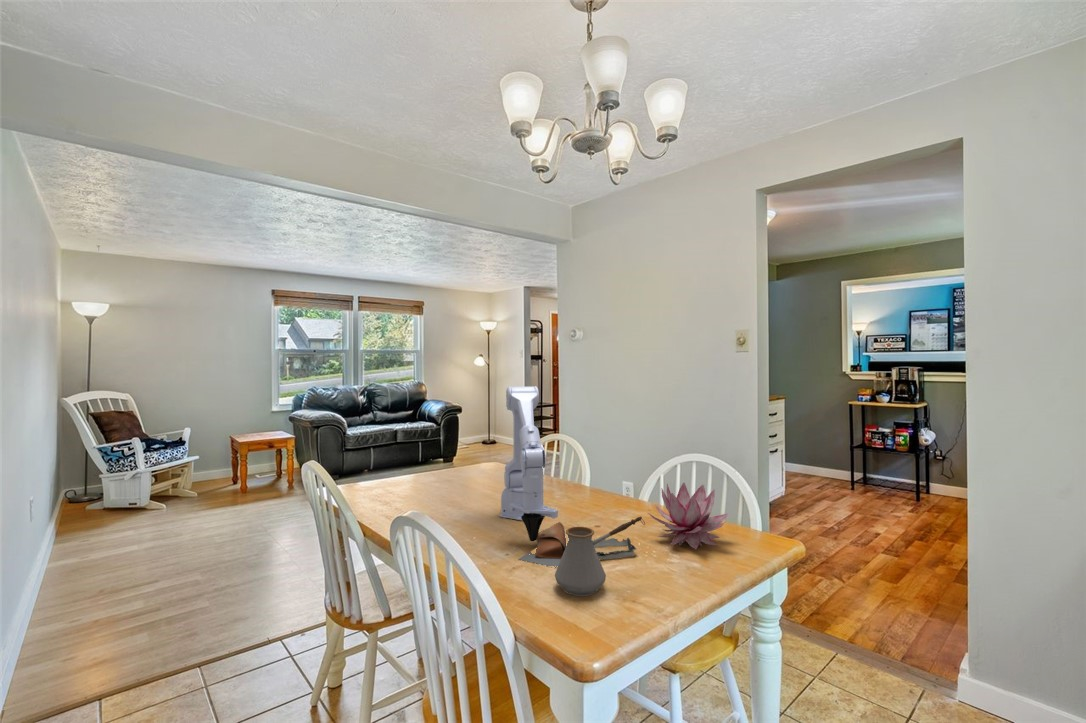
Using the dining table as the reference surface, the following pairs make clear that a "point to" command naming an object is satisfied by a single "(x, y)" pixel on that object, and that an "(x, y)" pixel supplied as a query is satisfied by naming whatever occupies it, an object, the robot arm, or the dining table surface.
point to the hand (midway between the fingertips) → (533, 540)
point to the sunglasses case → (551, 542)
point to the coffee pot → (583, 561)
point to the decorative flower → (690, 516)
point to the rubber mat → (540, 560)
